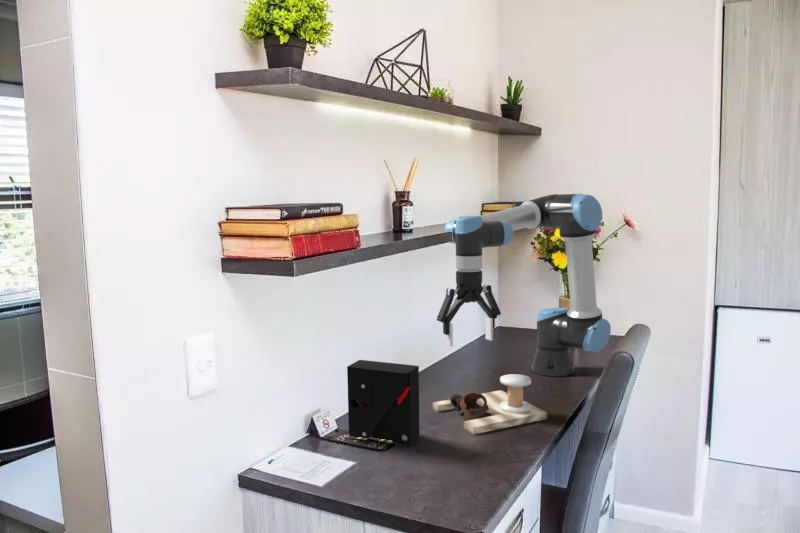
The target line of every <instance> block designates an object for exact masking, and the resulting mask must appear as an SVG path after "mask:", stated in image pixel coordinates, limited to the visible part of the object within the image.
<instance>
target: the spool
mask: <svg viewBox="0 0 800 533" xmlns="http://www.w3.org/2000/svg"><path fill="white" fill-rule="evenodd" d="M499 383H500V384H501V385H504V386H506V387H507V393H508V400H507V401H503V402H501V403H500V409H501V410H502V411H504V412H507V413H514V414H521V413H527V412H529V411H530V410H531V405H532V404H531V405H530V402H527V401H526V400H524V387H528V386H530V385H531V384H532V378H531V377H530V376H528V375H524V374H516V373H515V374H513V373H511V374H504V375H501V376H500V377H499Z"/></svg>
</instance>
